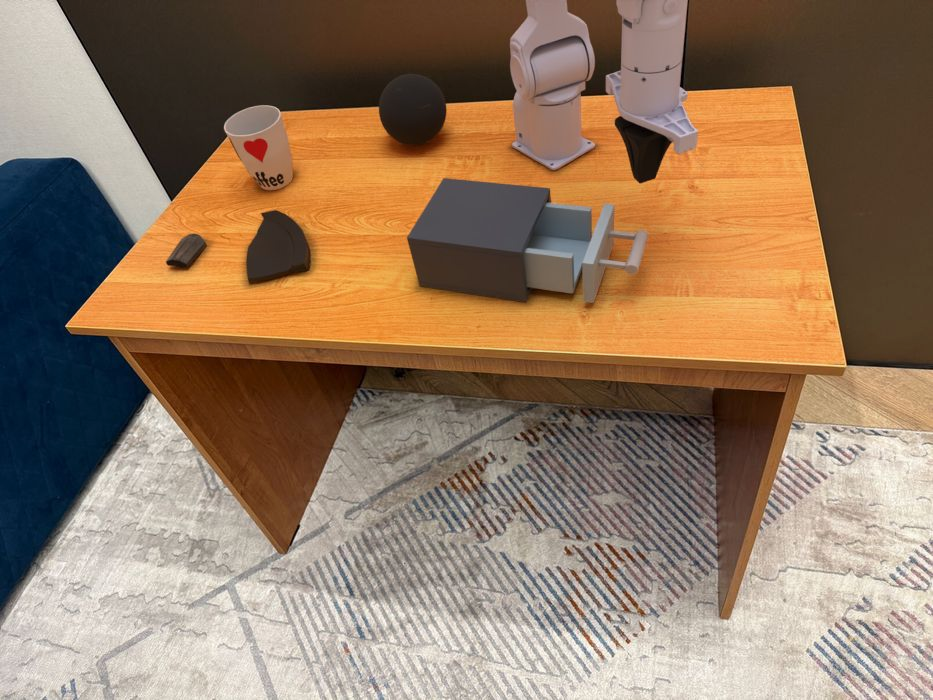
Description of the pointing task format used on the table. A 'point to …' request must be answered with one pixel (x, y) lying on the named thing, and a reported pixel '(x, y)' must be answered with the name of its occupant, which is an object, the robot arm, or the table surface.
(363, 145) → the table surface
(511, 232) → the cabinet
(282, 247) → the dark sector wedge
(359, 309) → the table surface
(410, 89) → the black ball
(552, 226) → the drawer
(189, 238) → the block
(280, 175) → the cup
